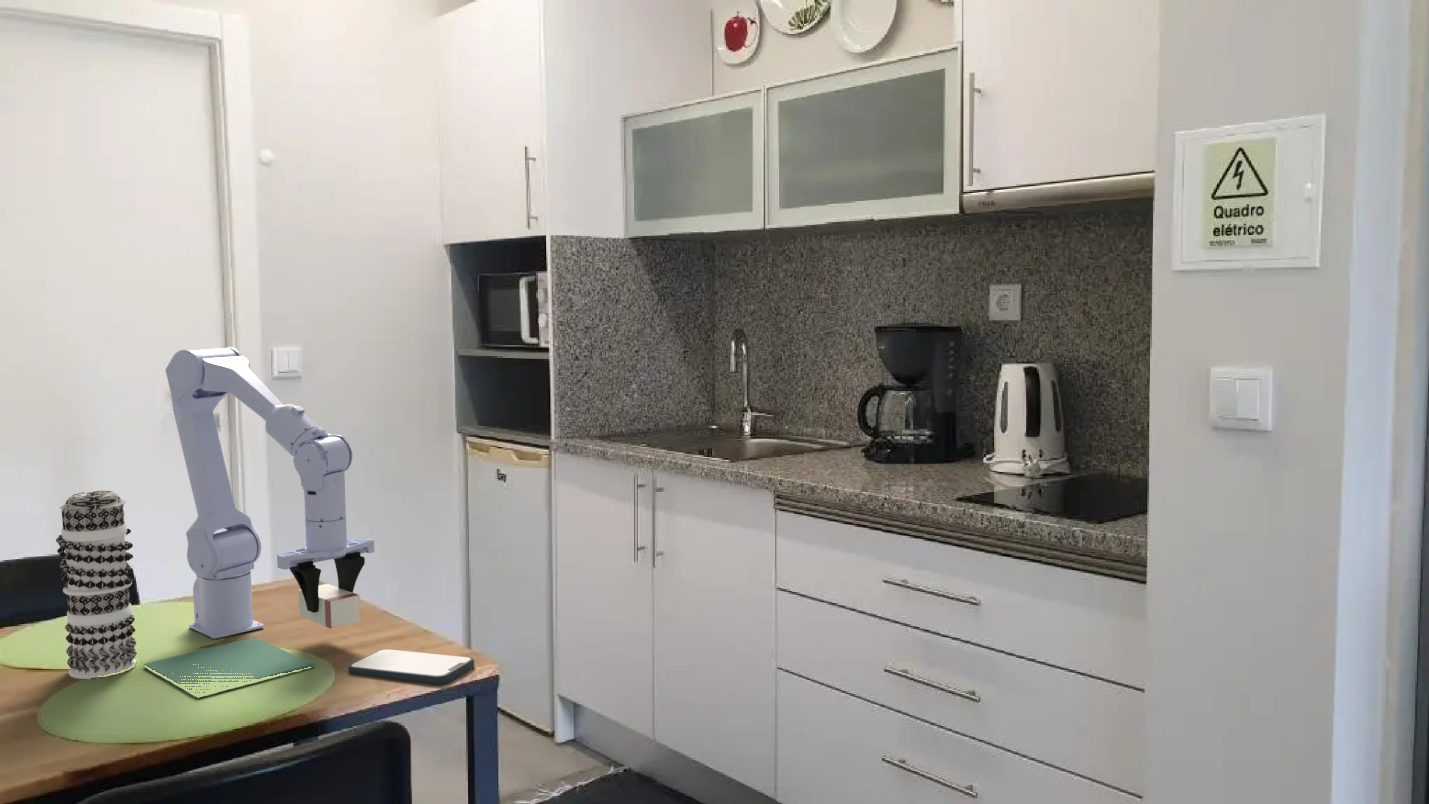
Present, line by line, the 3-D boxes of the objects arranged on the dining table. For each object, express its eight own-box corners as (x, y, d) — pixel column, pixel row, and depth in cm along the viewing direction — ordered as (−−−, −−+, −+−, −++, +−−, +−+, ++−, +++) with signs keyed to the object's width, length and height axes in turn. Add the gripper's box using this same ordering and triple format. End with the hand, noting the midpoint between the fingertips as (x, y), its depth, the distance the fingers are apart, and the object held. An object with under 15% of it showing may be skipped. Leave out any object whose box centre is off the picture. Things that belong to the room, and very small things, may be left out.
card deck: (299, 615, 168) (298, 589, 168) (328, 609, 171) (327, 583, 171) (331, 628, 162) (330, 601, 161) (360, 621, 165) (359, 594, 165)
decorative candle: (65, 664, 158) (53, 491, 156) (138, 654, 163) (128, 485, 160) (64, 684, 150) (52, 502, 148) (141, 672, 155) (130, 495, 152)
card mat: (143, 667, 157) (143, 663, 157) (254, 641, 169) (254, 637, 168) (198, 699, 145) (197, 694, 145) (313, 667, 156) (313, 663, 156)
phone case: (344, 678, 154) (443, 689, 149) (343, 666, 154) (442, 677, 149) (383, 658, 163) (478, 668, 157) (382, 647, 162) (478, 657, 157)
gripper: (292, 529, 157) (295, 623, 158) (383, 514, 168) (386, 602, 169) (268, 522, 162) (272, 613, 163) (359, 508, 172) (362, 593, 174)
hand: (329, 607), depth 166 cm, fingers closed on card deck, 5 cm apart
